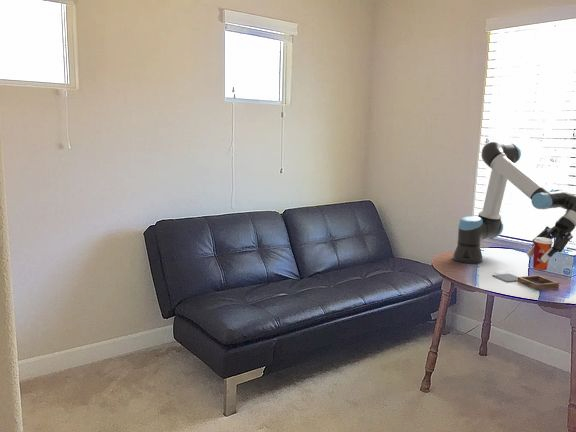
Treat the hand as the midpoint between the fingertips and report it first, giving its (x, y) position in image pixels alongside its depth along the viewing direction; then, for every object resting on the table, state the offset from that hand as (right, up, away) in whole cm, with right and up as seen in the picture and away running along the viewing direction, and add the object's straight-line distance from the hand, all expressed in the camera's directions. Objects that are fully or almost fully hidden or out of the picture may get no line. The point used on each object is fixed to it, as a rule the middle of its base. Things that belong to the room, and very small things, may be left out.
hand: (535, 258), depth 222 cm
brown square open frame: (+3, -13, +4) cm, 14 cm away
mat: (-6, -11, +13) cm, 18 cm away
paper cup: (+3, -5, +2) cm, 6 cm away
